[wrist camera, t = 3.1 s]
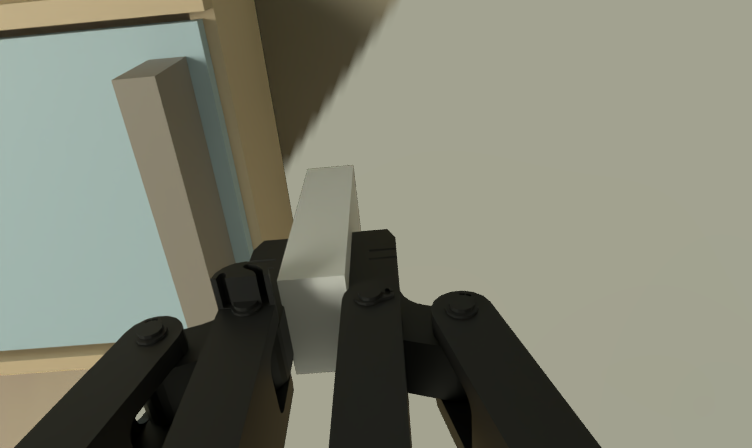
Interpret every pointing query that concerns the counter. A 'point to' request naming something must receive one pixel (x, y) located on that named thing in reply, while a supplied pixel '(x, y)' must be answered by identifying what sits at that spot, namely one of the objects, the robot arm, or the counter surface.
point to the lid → (112, 183)
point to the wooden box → (239, 104)
